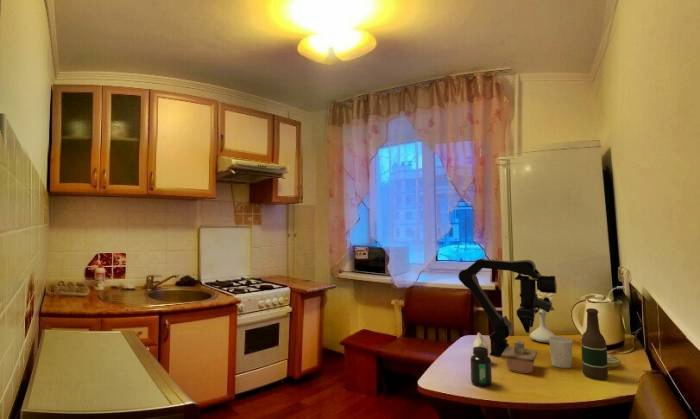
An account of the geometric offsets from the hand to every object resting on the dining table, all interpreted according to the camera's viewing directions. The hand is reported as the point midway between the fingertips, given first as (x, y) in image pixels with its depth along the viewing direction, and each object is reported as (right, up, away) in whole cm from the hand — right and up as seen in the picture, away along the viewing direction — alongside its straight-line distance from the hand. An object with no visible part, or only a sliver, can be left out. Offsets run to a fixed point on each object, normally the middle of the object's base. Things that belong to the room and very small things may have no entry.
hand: (529, 329), depth 153 cm
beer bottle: (+15, -11, -18) cm, 26 cm away
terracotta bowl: (-8, -12, -9) cm, 17 cm away
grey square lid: (-8, -7, -9) cm, 14 cm away
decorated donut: (+26, -12, -7) cm, 29 cm away
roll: (-21, -13, -3) cm, 25 cm away
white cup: (+9, -12, -7) cm, 16 cm away
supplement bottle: (-27, -12, -22) cm, 37 cm away
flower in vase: (+18, -13, +22) cm, 31 cm away
